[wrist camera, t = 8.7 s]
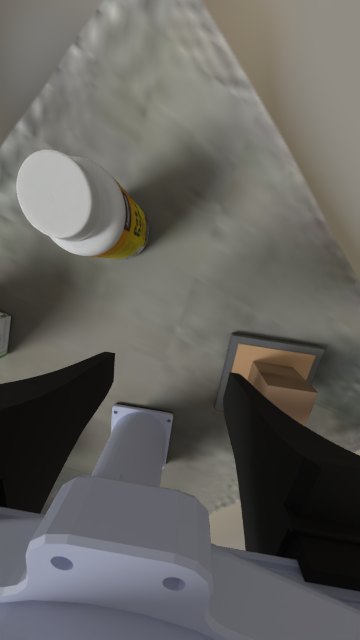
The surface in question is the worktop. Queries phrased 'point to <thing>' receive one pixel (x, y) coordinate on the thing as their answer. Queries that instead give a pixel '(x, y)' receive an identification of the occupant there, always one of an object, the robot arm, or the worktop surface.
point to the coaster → (267, 358)
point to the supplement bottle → (80, 206)
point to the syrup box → (4, 333)
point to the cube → (284, 389)
